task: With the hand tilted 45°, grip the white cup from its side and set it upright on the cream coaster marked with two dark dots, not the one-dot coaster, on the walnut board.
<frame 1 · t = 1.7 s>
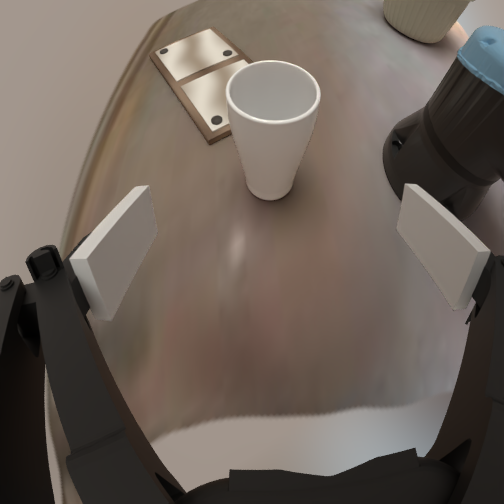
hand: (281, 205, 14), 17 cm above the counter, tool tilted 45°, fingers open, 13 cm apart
coaster board: (211, 75, 37), on the counter
white cup: (269, 181, 33), on the counter
canister: (410, 28, 40), on the counter
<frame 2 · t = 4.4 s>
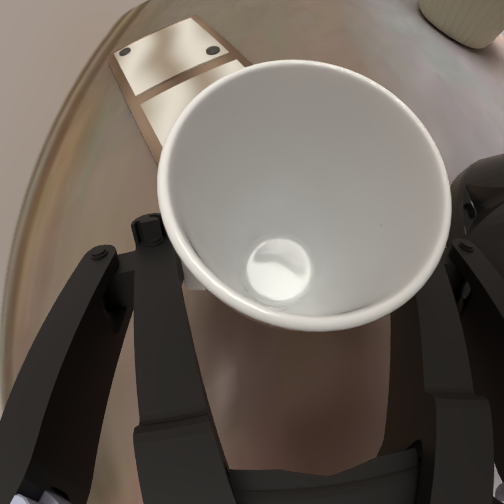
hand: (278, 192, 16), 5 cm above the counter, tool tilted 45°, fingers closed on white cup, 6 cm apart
coaster board: (188, 84, 24), on the counter
white cup: (276, 273, 20), on the counter, touching gripper
canister: (450, 28, 28), on the counter
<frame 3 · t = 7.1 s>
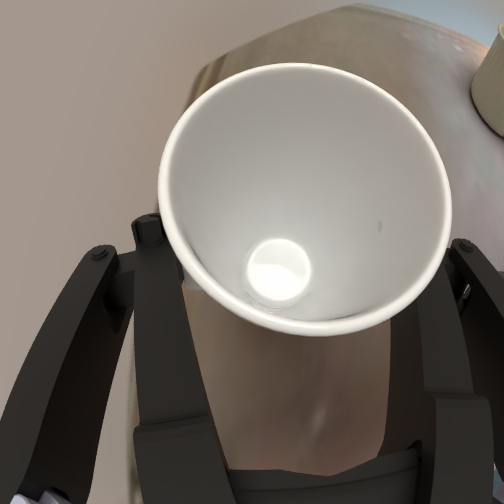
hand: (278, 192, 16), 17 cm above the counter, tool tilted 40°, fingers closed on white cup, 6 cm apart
white cup: (276, 275, 20), point 12 cm above the counter, touching gripper
canister: (492, 112, 35), on the counter
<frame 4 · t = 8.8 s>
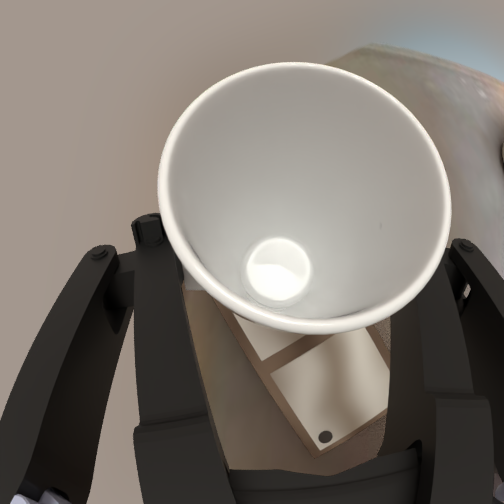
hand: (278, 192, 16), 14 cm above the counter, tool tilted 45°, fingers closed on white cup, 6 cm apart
coaster board: (310, 339, 27), on the counter
white cup: (276, 275, 20), point 9 cm above the counter, touching gripper
when the fingers open (8 cm above the counter, at t = 10.1 s): white cup drops 1 cm, resting on coaster board.
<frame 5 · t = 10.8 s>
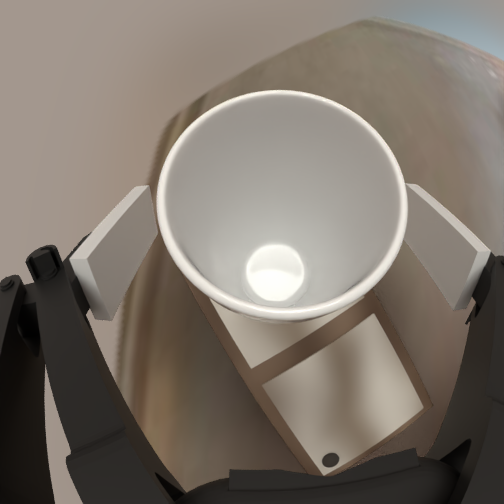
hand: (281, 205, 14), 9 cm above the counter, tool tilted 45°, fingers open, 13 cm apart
coaster board: (312, 340, 22), on the counter
white cup: (274, 279, 22), point 1 cm above the counter, touching coaster board
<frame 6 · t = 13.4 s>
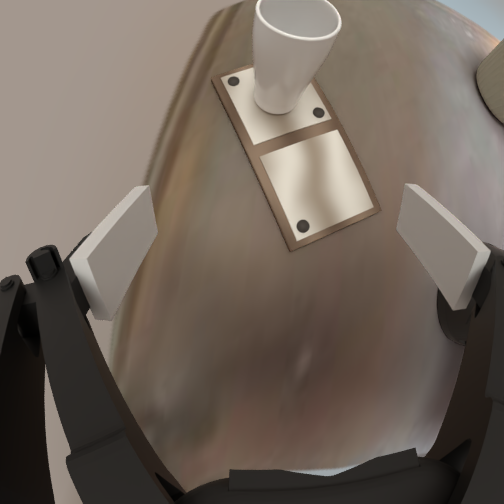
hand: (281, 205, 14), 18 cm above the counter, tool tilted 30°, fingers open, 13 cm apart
coaster board: (295, 140, 32), on the counter
white cup: (275, 97, 31), point 1 cm above the counter, touching coaster board
canister: (494, 98, 34), on the counter
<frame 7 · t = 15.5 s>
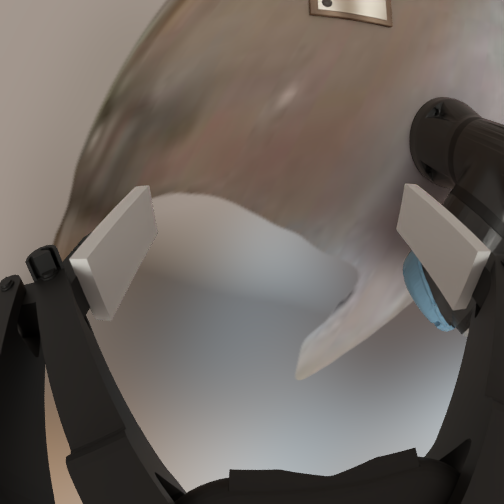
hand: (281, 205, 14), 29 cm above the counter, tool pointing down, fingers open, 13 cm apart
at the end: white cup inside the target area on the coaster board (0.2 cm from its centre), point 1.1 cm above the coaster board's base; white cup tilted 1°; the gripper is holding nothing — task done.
